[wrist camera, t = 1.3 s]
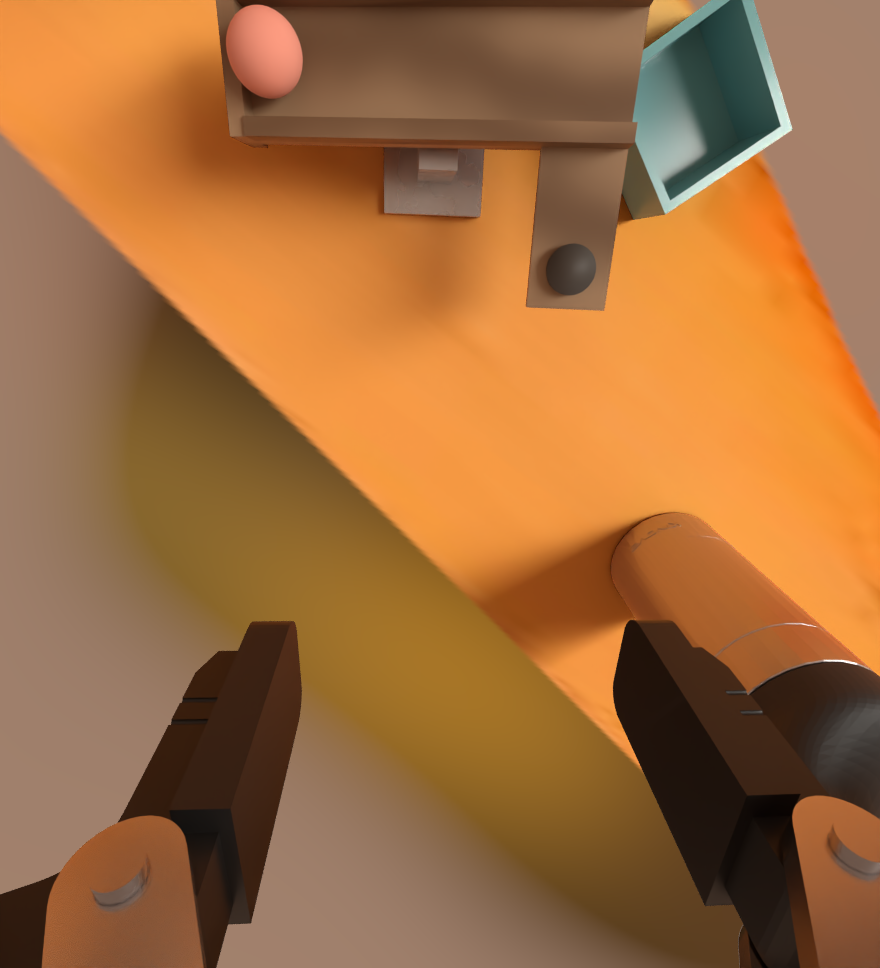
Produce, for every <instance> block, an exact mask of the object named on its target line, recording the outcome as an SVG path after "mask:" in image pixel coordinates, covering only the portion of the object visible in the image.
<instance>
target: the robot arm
mask: <svg viewBox="0 0 880 968" xmlns="http://www.w3.org/2000/svg"><path fill="white" fill-rule="evenodd" d="M611 577H612V580H613V583H614V585H615V587H616V589H617V590H618V592H619V593H620V595H621V597H622V598H623V600H624V601H625V603H626V605H627V606H628V608H629V609H630V611H631V613H632V614H633V616H634V618H635V619H636V620H630V621H629V622H628V623H627V624H626V627H625V630H624V635H623V639H622V644H621V649H620V653H619V658H618V663H617V668H616V672H615V677H614V682H613V698H614V704H615V709H616V712H617V715H618V718H619V720H620V722H621V724H622V727H623V729H624V731H625V733H626V735H627V737H628V740H629V742H630V744H631V746H632V748H633V750H634V753H635V755H636V757H637V759H638V761H639V763H640V766H641V768H642V770H643V772H644V774H645V777H646V779H647V781H648V783H649V785H650V787H651V790H652V792H653V794H654V796H655V798H656V800H657V803H658V804H659V807H660V809H661V811H662V813H663V816H664V818H665V820H666V822H667V824H668V826H669V829H670V831H671V833H672V835H673V837H674V839H675V842H676V844H677V846H678V848H679V850H680V853H681V855H682V857H683V859H684V861H685V863H686V866H687V868H688V870H689V872H690V874H691V876H692V879H693V881H694V883H695V885H696V887H697V889H698V892H699V894H700V896H701V898H702V900H703V903H704V905H705V906H711V905H712V906H714V905H734V906H735V908H736V910H737V912H738V914H739V916H740V918H741V920H742V922H743V926H742V928H741V931H740V934H739V939H738V949H739V963H740V968H880V677H879V676H878V675H877V674H876V673H874V672H873V671H872V670H871V669H870V668H869V667H868V666H867V665H865V664H864V663H863V662H862V661H861V660H860V659H859V658H858V657H856V656H855V655H854V654H853V653H852V652H851V651H850V650H849V649H847V648H846V647H845V646H844V645H843V644H842V643H841V642H840V641H838V640H837V639H836V638H835V637H834V636H832V635H831V634H830V633H829V632H828V631H827V630H826V629H824V628H823V627H822V626H821V625H820V624H819V623H818V622H817V621H816V620H814V619H813V618H812V617H811V616H810V615H809V614H808V613H807V612H805V611H804V610H803V609H802V608H801V607H800V606H799V605H798V604H796V603H795V602H794V601H793V600H792V599H791V598H790V597H789V596H787V595H786V594H785V593H784V592H783V591H782V590H781V589H780V588H778V587H777V586H776V585H775V584H774V583H773V582H772V581H771V580H769V579H768V578H767V577H766V576H765V575H764V574H763V573H762V572H760V571H759V570H758V569H757V568H756V567H755V566H754V565H753V564H751V563H750V562H749V561H748V560H747V559H746V558H745V557H744V556H742V555H741V554H740V553H739V552H738V551H737V550H736V549H735V548H734V547H733V546H732V545H730V544H729V543H728V542H727V541H726V540H725V539H724V538H722V537H721V536H720V535H719V534H718V533H717V532H716V531H715V530H713V529H712V528H711V527H710V526H709V525H708V524H707V523H705V522H704V521H702V520H701V519H699V518H697V517H695V516H692V515H689V514H683V513H667V514H662V515H658V516H654V517H652V518H650V519H647V520H645V521H643V522H641V523H640V524H638V525H637V526H635V527H634V528H632V529H631V530H630V531H629V532H628V533H627V534H626V535H625V536H624V537H623V539H622V540H621V542H620V543H619V544H618V546H617V548H616V550H615V552H614V555H613V558H612V563H611ZM301 689H302V688H301V675H300V663H299V652H298V641H297V630H296V625H295V622H294V621H269V622H267V621H262V622H252V623H251V624H250V625H249V627H248V629H247V631H246V634H245V636H244V639H243V641H242V643H241V645H240V648H239V650H238V651H218V652H217V653H216V654H215V655H214V656H213V657H212V658H211V659H210V660H209V661H208V662H207V663H205V664H204V665H203V666H202V667H201V668H200V669H199V670H198V671H197V672H196V673H195V675H194V677H193V679H192V681H191V683H190V685H189V687H188V688H187V690H186V693H185V694H184V696H183V701H182V703H180V704H179V706H178V708H177V710H176V712H175V714H174V716H173V718H172V722H171V725H168V727H167V729H166V731H165V733H164V735H163V737H162V739H161V741H160V743H159V745H158V747H157V749H156V751H155V753H154V755H153V757H152V759H151V761H150V762H149V764H148V767H147V768H146V770H145V772H144V774H143V776H142V778H141V780H140V782H139V784H138V786H137V788H136V790H135V792H134V794H133V796H132V798H131V799H130V801H129V803H128V805H127V807H126V809H125V811H124V813H123V815H122V816H121V818H120V820H119V821H118V823H117V824H114V825H112V826H110V827H108V828H107V829H105V830H103V831H102V832H100V833H98V834H97V835H96V836H94V837H93V838H92V839H90V840H89V841H88V842H86V843H85V844H84V845H83V846H82V847H81V848H80V849H79V850H78V851H77V852H76V853H75V854H74V855H73V856H72V857H71V858H70V860H69V861H68V862H67V863H66V865H65V866H64V868H63V869H62V871H61V872H59V873H57V874H55V875H53V876H51V877H49V878H46V879H44V880H41V881H39V882H36V883H33V884H30V885H27V886H24V887H21V888H18V889H15V890H12V891H9V892H6V893H3V894H0V968H216V967H217V963H218V959H219V955H220V952H221V948H222V944H223V941H224V937H225V933H226V930H227V926H228V924H247V923H251V921H252V916H253V912H254V908H255V904H256V900H257V895H258V891H259V887H260V883H261V878H262V874H263V870H264V866H265V862H266V857H267V853H268V849H269V845H270V840H271V836H272V832H273V828H274V824H275V819H276V815H277V811H278V807H279V802H280V798H281V794H282V790H283V786H284V781H285V777H286V773H287V769H288V764H289V760H290V756H291V752H292V747H293V743H294V739H295V735H296V731H297V726H298V722H299V717H300V709H301V695H302V693H301V692H302V690H301Z"/></svg>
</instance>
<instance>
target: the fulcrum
mask: <svg viewBox="0 0 880 968" xmlns="http://www.w3.org/2000/svg"><path fill="white" fill-rule="evenodd" d="M483 161H484V149H456V148H408V147H384V213H387V214H410V215H433V216H456V217H480V213H481V196H482V179H483Z"/></svg>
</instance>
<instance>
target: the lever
mask: <svg viewBox="0 0 880 968" xmlns="http://www.w3.org/2000/svg"><path fill="white" fill-rule="evenodd" d="M652 2H653V0H216V6H217V16H218V26H219V35H220V45H221V55H222V64H223V74H224V83H225V93H226V103H227V112H228V122H229V132H230V137H232V138H235V139H237V140H239V141H241V142H243V143H245V144H247V145H249V146H252V147H266V148H268V145H314V146H361V147H408V148H456V149H503V150H540V161H539V171H538V182H537V193H536V203H535V214H534V225H533V235H532V246H531V257H530V267H529V278H528V289H527V299H526V307H532V308H555V309H578V310H600V311H604V308H605V301H606V295H607V288H608V281H609V275H610V268H611V261H612V255H613V248H614V241H615V235H616V228H617V221H618V215H619V208H620V201H621V194H622V188H623V181H624V174H625V168H626V161H627V154H628V149H629V148H630V147H631V146H632V145H633V144H635V137H636V131H637V124H638V122H632V121H633V114H634V108H635V101H636V94H637V88H638V81H639V74H640V68H641V61H642V54H643V48H644V41H645V34H646V28H647V21H648V14H649V8H650V5H651V3H652ZM250 5H264V6H268V7H270V8H272V9H274V10H276V11H277V12H279V13H280V14H281V15H283V16H284V17H285V18H286V19H287V21H288V22H289V23H290V24H291V26H292V27H293V29H294V30H295V32H296V34H297V37H298V39H299V42H300V45H301V49H302V56H303V66H302V72H301V76H300V79H299V81H298V83H297V85H296V86H295V88H294V89H293V90H292V91H291V92H290V93H288V94H287V95H285V96H283V97H280V98H275V99H269V98H264V97H261V96H258V95H256V94H254V93H252V92H251V91H250V90H248V89H247V88H246V87H245V86H244V85H243V84H242V83H241V82H240V80H239V79H238V78H237V76H236V75H235V73H234V71H233V69H232V67H231V65H230V62H229V59H228V55H227V49H226V35H227V30H228V27H229V24H230V22H231V20H232V18H233V17H234V15H235V14H236V13H237V12H238V11H239V10H241V9H243V8H244V7H247V6H250Z"/></svg>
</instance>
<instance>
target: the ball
mask: <svg viewBox="0 0 880 968" xmlns="http://www.w3.org/2000/svg"><path fill="white" fill-rule="evenodd" d="M226 49H227V55H228V59H229V62H230V65H231V67H232V69H233V71H234V73H235V75H236V76H237V78H238V79H239V80H240V82H241V83H242V84H243V85H244V86H245V87H246V88H247V89H248V90H250V91H251V92H252V93H254V94H256V95H258V96H261V97H264V98H269V99H275V98H280V97H283V96H285V95H287V94H288V93H290V92H291V91H292V90H293V89H294V88H295V86H296V85H297V83H298V81H299V79H300V76H301V72H302V66H303V56H302V49H301V45H300V42H299V39H298V37H297V34H296V32H295V30H294V29H293V27H292V26H291V24H290V23H289V22H288V21H287V19H286V18H285V17H284V16H283V15H281V14H280V13H279V12H277V11H276V10H274V9H272V8H270V7H268V6H264V5H250V6H247V7H244V8H243V9H241V10H239V11H238V12H237V13H236V14H235V15H234V17H233V18H232V20H231V22H230V24H229V27H228V30H227V35H226Z"/></svg>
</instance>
